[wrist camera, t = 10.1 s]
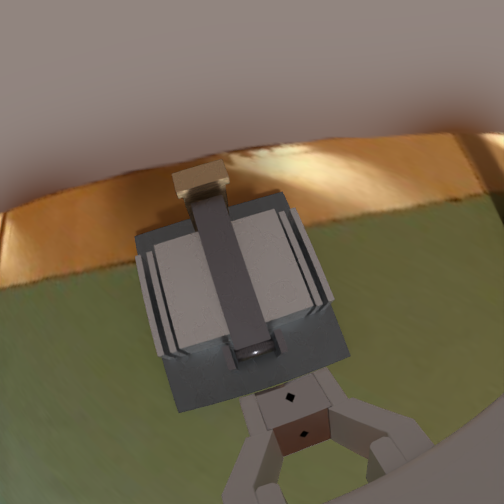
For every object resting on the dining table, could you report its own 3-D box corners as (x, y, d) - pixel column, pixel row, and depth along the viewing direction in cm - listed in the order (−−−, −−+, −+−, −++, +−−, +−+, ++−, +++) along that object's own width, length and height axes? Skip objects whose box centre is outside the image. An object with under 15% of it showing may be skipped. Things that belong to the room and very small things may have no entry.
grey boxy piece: (180, 412, 29) (152, 423, 20) (137, 240, 36) (105, 196, 27) (347, 356, 31) (383, 346, 22) (282, 196, 38) (289, 142, 29)
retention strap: (275, 350, 26) (276, 350, 25) (238, 362, 26) (238, 363, 25) (223, 199, 30) (222, 193, 29) (191, 208, 30) (189, 203, 29)
